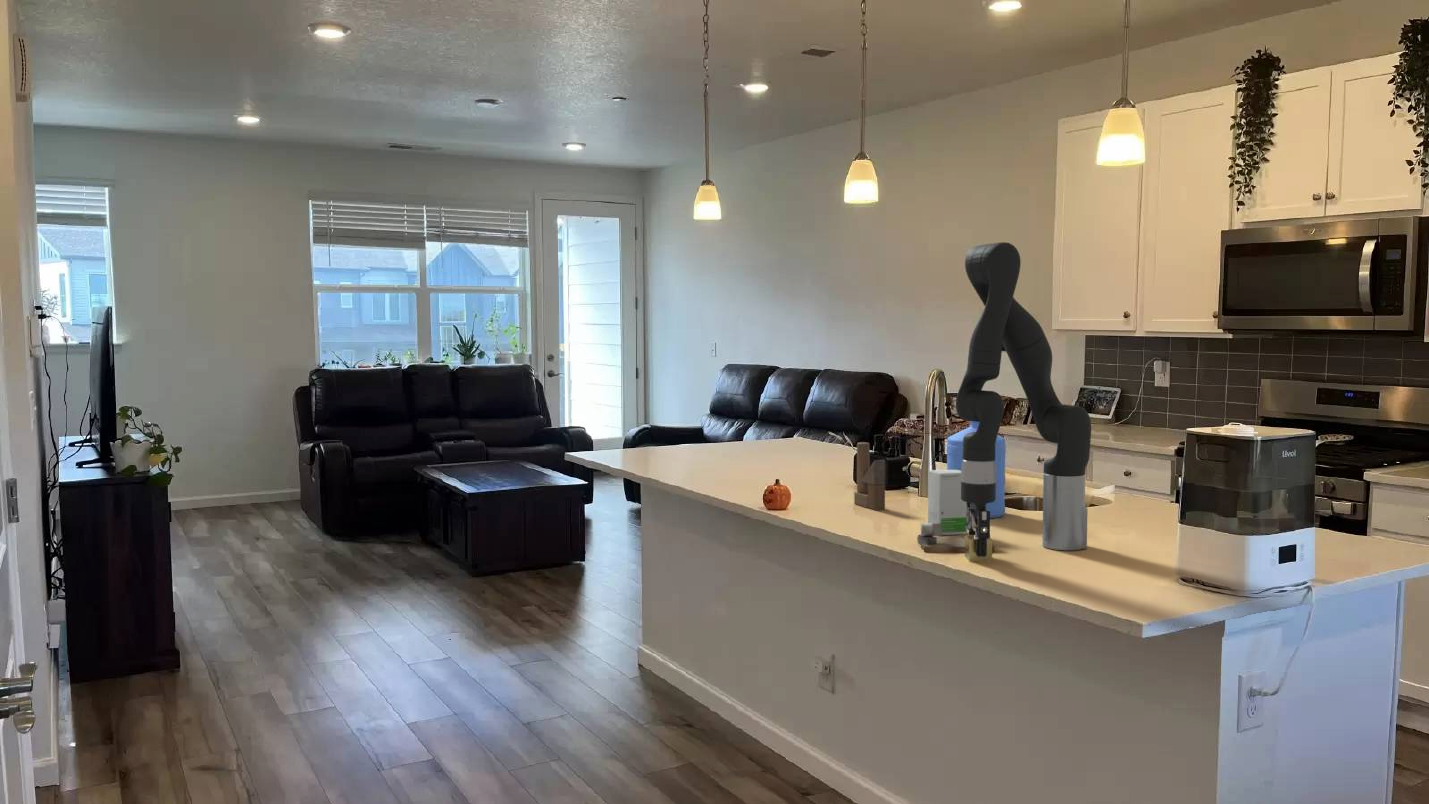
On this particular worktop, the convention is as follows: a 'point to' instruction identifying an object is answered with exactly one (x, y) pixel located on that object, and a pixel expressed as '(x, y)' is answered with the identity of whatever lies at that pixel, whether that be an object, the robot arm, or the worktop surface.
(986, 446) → the robot arm
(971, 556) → the joint block
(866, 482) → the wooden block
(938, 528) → the rig
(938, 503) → the skincare box
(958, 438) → the water jug
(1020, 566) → the worktop surface
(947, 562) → the worktop surface
